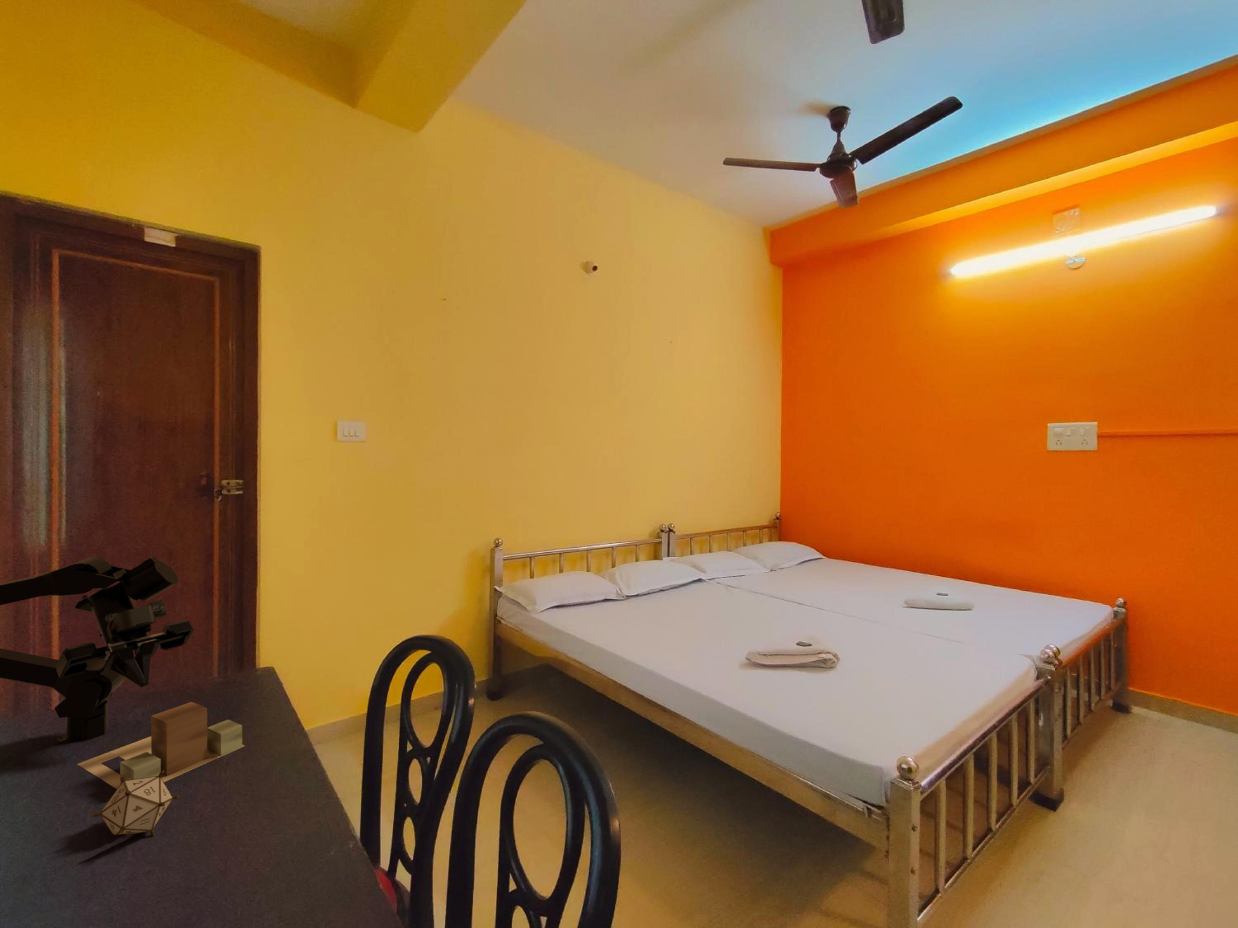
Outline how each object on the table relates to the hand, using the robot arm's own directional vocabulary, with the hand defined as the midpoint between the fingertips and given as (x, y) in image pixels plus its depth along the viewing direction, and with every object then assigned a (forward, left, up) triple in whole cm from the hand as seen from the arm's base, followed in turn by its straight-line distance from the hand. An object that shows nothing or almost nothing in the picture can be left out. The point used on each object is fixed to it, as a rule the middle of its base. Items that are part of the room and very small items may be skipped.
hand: (145, 685), depth 100 cm
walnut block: (+11, 0, -11) cm, 16 cm away
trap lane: (+6, 0, -12) cm, 14 cm away
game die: (+23, -11, -13) cm, 29 cm away
